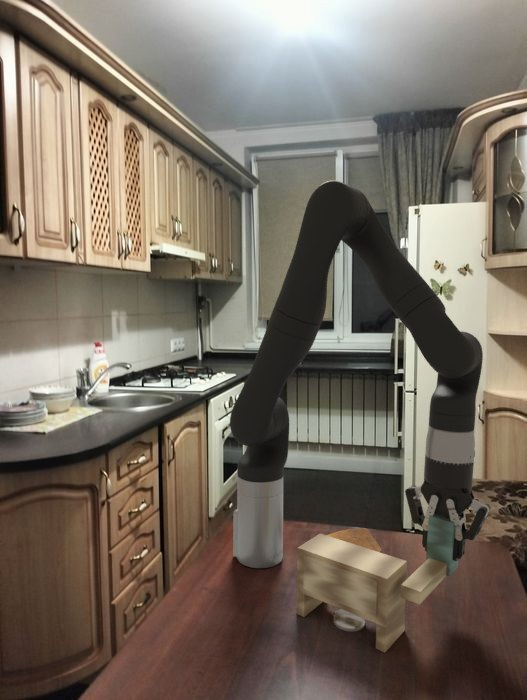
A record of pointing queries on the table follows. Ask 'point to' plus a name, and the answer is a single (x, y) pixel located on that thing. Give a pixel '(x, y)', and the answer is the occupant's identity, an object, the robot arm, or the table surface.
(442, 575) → the two-colour block
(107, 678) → the table surface
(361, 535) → the pottery shard
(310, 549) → the wooden arch block
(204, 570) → the table surface
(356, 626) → the disc
